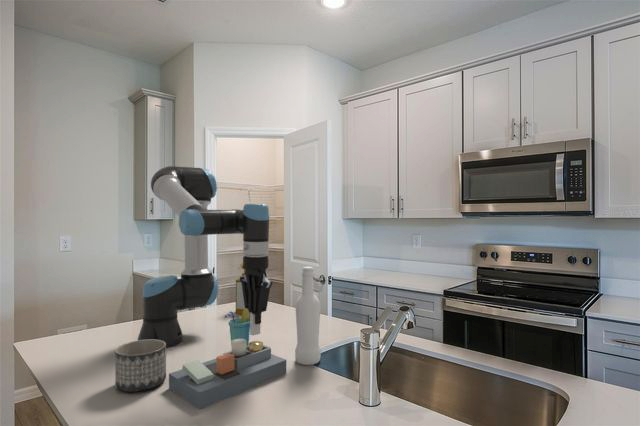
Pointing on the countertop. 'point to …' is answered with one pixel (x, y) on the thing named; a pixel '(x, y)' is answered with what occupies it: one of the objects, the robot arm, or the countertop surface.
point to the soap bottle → (239, 294)
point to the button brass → (255, 346)
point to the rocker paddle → (198, 371)
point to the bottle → (307, 322)
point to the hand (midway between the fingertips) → (255, 333)
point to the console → (228, 378)
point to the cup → (239, 326)
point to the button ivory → (239, 347)
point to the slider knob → (224, 363)
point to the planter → (140, 365)
